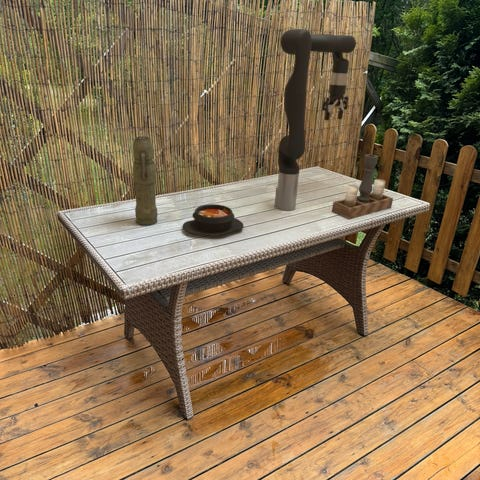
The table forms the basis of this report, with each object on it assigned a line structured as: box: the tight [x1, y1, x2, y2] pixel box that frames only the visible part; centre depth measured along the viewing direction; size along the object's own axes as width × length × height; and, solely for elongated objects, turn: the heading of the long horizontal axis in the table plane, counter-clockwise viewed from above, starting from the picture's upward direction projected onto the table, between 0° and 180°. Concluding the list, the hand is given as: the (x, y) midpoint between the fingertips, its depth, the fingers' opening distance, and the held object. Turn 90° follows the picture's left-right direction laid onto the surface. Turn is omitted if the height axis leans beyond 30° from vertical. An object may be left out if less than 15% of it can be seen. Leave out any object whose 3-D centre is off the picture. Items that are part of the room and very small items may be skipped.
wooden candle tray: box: [331, 178, 394, 220], centre depth 199 cm, size 30×10×13 cm, turn 124°
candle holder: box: [357, 153, 379, 204], centre depth 196 cm, size 6×6×25 cm
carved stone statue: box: [132, 136, 158, 227], centre depth 170 cm, size 9×12×35 cm
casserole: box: [182, 203, 244, 236], centre depth 171 cm, size 25×19×8 cm
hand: (333, 119), depth 201 cm, fingers open, 8 cm apart
